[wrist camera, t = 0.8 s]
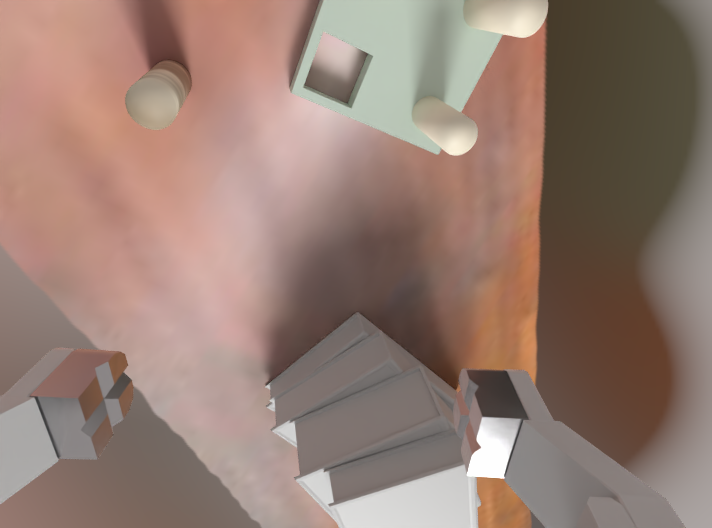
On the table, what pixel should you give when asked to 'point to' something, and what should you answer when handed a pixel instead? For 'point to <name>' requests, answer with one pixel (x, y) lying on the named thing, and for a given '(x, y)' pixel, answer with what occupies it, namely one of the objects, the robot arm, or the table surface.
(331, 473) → the book stack
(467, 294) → the table surface
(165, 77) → the loose leg
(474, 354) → the table surface
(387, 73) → the stool seat
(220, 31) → the table surface
